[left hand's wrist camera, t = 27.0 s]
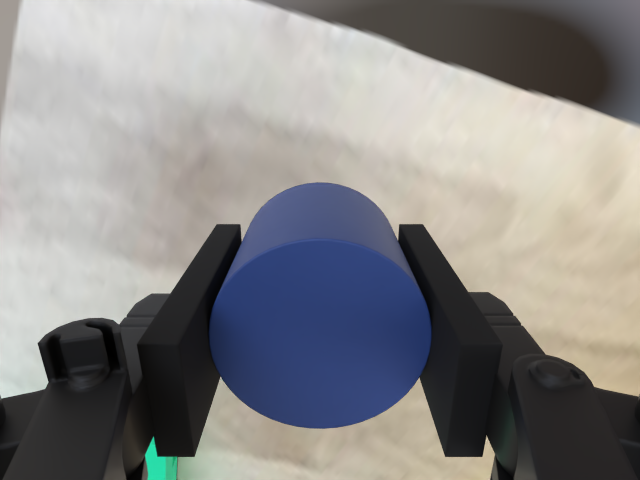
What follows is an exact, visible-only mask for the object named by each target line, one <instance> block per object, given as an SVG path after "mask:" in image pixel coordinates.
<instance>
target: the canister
mask: <svg viewBox="0 0 640 480" xmlns="http://www.w3.org/2000/svg"><path fill="white" fill-rule="evenodd" d="M208 334H209V346H210V350H211V355H212V358H213V361H214V363H215V366H216V369H217V371H218V372H219V374H220V376H221V378H222V379H223V381H224V382H225V384H226V385H227V386H228V388H229V389H230V390H231V391H232V392H233V393H234V394H235V395H236V396H237V397H238V398H239V399H240V400H241V401H242V402H244V403H245V404H246V405H247V406H249V407H250V408H252V409H253V410H255V411H257V412H258V413H260V414H262V415H264V416H266V417H268V418H270V419H272V420H275V421H278V422H281V423H284V424H288V425H292V426H297V427H304V428H319V429H325V428H337V427H343V426H348V425H352V424H356V423H359V422H363V421H365V420H368V419H370V418H372V417H375V416H377V415H378V414H380V413H382V412H384V411H386V410H387V409H389V408H390V407H392V406H393V405H394V404H396V403H397V402H398V401H399V400H400V399H402V398H403V397H404V396H405V395H406V394H407V393H408V392H409V390H410V389H411V388H412V387H413V386H414V384H415V383H416V381H417V380H418V378H419V377H420V375H421V373H422V371H423V369H424V367H425V365H426V362H427V359H428V356H429V353H430V347H431V338H432V325H431V318H430V313H429V310H428V307H427V304H426V301H425V299H424V297H423V294H422V292H421V290H420V288H419V286H418V284H417V281H416V279H415V277H414V275H413V273H412V271H411V268H410V266H409V264H408V262H407V260H406V257H405V255H404V253H403V251H402V249H401V247H400V244H399V242H398V240H397V238H396V236H395V234H394V231H393V229H392V227H391V225H390V223H389V221H388V219H387V218H386V216H385V215H384V213H383V212H382V211H381V210H380V209H379V207H378V206H377V205H376V204H375V203H374V202H372V201H371V200H370V199H369V198H367V197H366V196H364V195H363V194H361V193H359V192H358V191H355V190H353V189H351V188H348V187H345V186H342V185H338V184H332V183H308V184H303V185H298V186H295V187H292V188H290V189H287V190H285V191H283V192H281V193H279V194H277V195H276V196H275V197H273V198H272V199H270V200H269V201H268V202H267V203H266V204H265V205H264V206H263V207H262V208H261V209H260V210H259V211H258V213H257V214H256V215H255V217H254V218H253V220H252V222H251V223H250V226H249V228H248V230H247V232H246V234H245V237H244V239H243V241H242V243H241V245H240V247H239V250H238V252H237V254H236V256H235V258H234V261H233V263H232V265H231V267H230V269H229V271H228V274H227V276H226V278H225V280H224V282H223V285H222V287H221V289H220V291H219V293H218V295H217V298H216V300H215V303H214V305H213V308H212V312H211V316H210V320H209V332H208Z"/></svg>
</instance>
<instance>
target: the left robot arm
mask: <svg viewBox="0 0 640 480" xmlns="http://www.w3.org/2000/svg"><path fill="white" fill-rule="evenodd" d="M398 242H399V244H400V247H401V249H402V251H403V253H404V255H405V257H406V260H407V262H408V264H409V266H410V268H411V271H412V273H413V275H414V277H415V279H416V281H417V284H418V286H419V288H420V290H421V292H422V294H423V297H424V299H425V301H426V304H427V307H428V310H429V313H430V318H431V325H432V338H431V347H430V353H429V356H428V359H427V362H426V365H425V367H424V369H423V371H422V373H421V375H420V380H421V383H422V387H423V390H424V393H425V396H426V399H427V402H428V405H429V408H430V411H431V414H432V417H433V420H434V424H435V427H436V430H437V433H438V436H439V439H440V442H441V445H442V448H443V451H444V454H445V457H482V456H483V451H484V445H485V440H486V435H487V437H488V439H489V441H490V444H491V446H492V448H493V450H494V452H495V457H494V462H493V468H492V473H491V478H490V480H640V395H639V397H637V396H633V395H628V394H623V393H618V392H613V391H608V390H603V389H600V388H596V387H594V386H593V384H592V382H591V381H590V379H589V378H588V377H587V375H586V374H585V373H584V372H583V371H582V370H580V369H579V368H577V367H576V366H575V365H573V364H571V363H569V362H567V361H564V360H562V359H560V358H557V357H553V356H549V355H546V354H545V353H544V352H543V351H542V349H541V348H540V347H539V346H538V344H537V343H536V342H535V340H534V339H533V338H532V337H531V335H530V334H529V333H528V332H527V330H526V329H525V328H524V327H523V326H521V323H520V322H519V320H518V319H517V318H516V317H515V316H513V313H512V312H511V310H510V309H509V308H508V307H507V305H506V304H505V303H504V302H503V301H501V300H500V299H498V298H497V297H495V296H493V295H492V294H490V293H489V292H468V291H467V290H466V288H465V287H464V285H463V284H462V282H461V281H460V279H459V278H458V276H457V275H456V273H455V272H454V270H453V269H452V267H451V266H450V264H449V263H448V261H447V260H446V258H445V257H444V255H443V254H442V252H441V251H440V249H439V248H438V246H437V245H436V243H435V242H434V240H433V239H432V237H431V236H430V234H429V233H428V231H427V230H426V228H425V227H424V225H423V224H399V237H398ZM241 243H242V241H241V227H240V224H217V225H216V226H215V228H214V229H213V231H212V232H211V234H210V235H209V237H208V238H207V240H206V241H205V243H204V244H203V246H202V247H201V249H200V250H199V252H198V253H197V255H196V256H195V258H194V259H193V261H192V262H191V264H190V265H189V267H188V268H187V270H186V271H185V273H184V274H183V276H182V277H181V279H180V280H179V282H178V283H177V285H176V286H175V288H174V289H173V291H172V292H171V294H150V295H149V296H147V297H146V298H144V299H142V300H141V301H139V302H138V303H136V304H135V305H134V307H133V308H132V309H131V310H130V312H129V313H128V314H127V318H124V319H123V321H122V322H121V323H120V324H117V323H116V322H115V321H113V320H110V319H105V318H88V319H83V320H78V321H73V322H71V323H68V324H65V325H63V326H60V327H58V328H56V329H54V330H53V331H51V332H50V333H48V334H46V335H45V336H44V337H43V338H42V339H41V340H40V341H39V343H38V346H39V350H40V353H41V357H42V360H43V364H44V367H45V371H46V375H47V378H48V382H49V383H48V385H47V387H46V389H44V390H40V391H36V392H32V393H27V394H22V395H17V396H12V397H7V398H2V399H1V396H0V480H148V469H147V462H146V457H145V454H146V452H147V450H148V447H149V445H150V443H151V441H152V439H153V436H154V441H155V447H156V452H157V457H195V453H196V450H197V447H198V444H199V441H200V438H201V435H202V432H203V429H204V426H205V423H206V420H207V416H208V413H209V410H210V407H211V404H212V401H213V398H214V395H215V392H216V389H217V386H218V383H219V379H220V374H219V372H218V371H217V369H216V366H215V363H214V361H213V358H212V355H211V350H210V346H209V334H208V332H209V320H210V316H211V312H212V308H213V305H214V303H215V300H216V298H217V295H218V293H219V291H220V289H221V287H222V285H223V282H224V280H225V278H226V276H227V274H228V271H229V269H230V267H231V265H232V263H233V261H234V258H235V256H236V254H237V252H238V250H239V247H240V245H241Z"/></svg>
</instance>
